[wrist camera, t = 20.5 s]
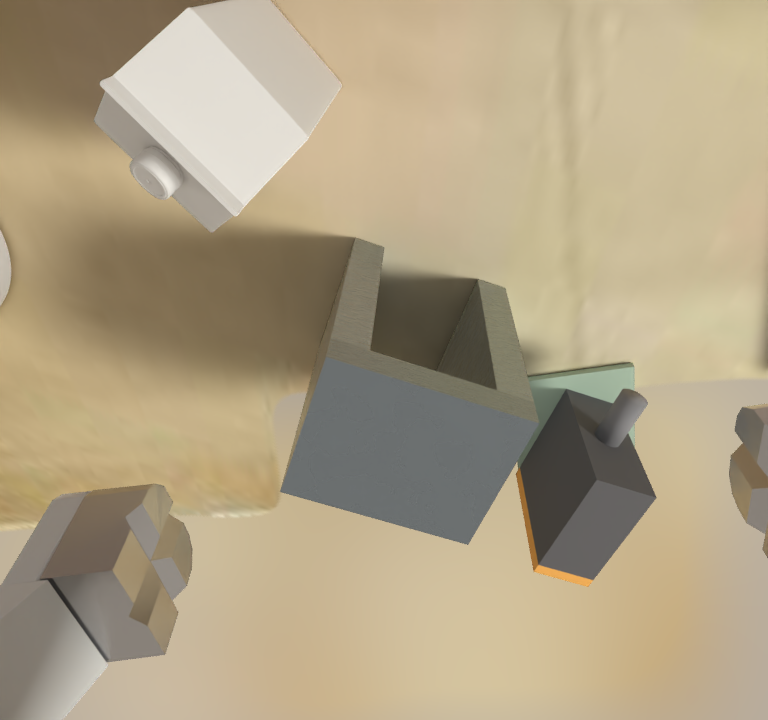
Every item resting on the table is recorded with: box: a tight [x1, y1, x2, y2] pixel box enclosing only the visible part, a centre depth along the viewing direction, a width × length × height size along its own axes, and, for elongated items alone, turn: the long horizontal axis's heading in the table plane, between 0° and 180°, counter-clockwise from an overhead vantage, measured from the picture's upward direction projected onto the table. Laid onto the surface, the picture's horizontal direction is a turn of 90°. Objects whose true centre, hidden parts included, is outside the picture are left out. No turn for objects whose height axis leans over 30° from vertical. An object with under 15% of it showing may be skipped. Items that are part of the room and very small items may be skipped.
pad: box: [517, 363, 635, 469], centre depth 55 cm, size 10×10×1 cm
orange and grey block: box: [516, 389, 656, 587], centre depth 50 cm, size 14×4×11 cm, turn 161°
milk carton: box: [94, 0, 342, 233], centre depth 34 cm, size 7×7×19 cm
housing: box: [280, 238, 539, 545], centre depth 44 cm, size 10×12×17 cm
